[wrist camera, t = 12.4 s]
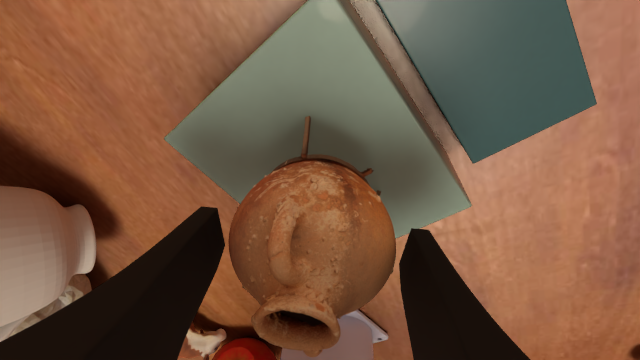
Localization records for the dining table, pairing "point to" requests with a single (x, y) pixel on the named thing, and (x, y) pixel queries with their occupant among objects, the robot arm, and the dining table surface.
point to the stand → (391, 97)
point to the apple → (244, 350)
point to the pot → (311, 248)
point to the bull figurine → (201, 343)
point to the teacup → (39, 252)
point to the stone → (59, 301)
